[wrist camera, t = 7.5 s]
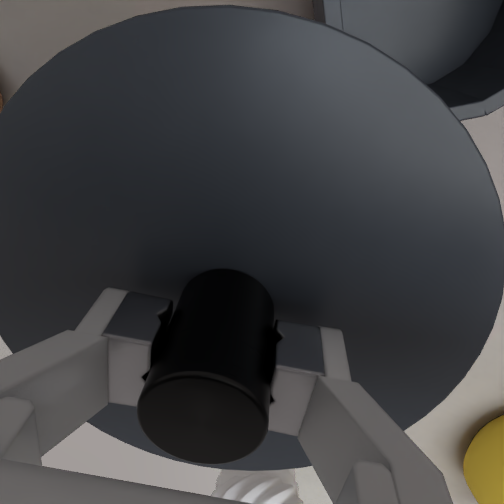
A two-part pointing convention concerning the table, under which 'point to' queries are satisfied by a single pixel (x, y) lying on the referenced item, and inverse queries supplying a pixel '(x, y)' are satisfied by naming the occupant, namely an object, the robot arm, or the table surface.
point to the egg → (1, 102)
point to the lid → (247, 219)
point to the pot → (434, 44)
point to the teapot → (486, 463)
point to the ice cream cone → (258, 486)
